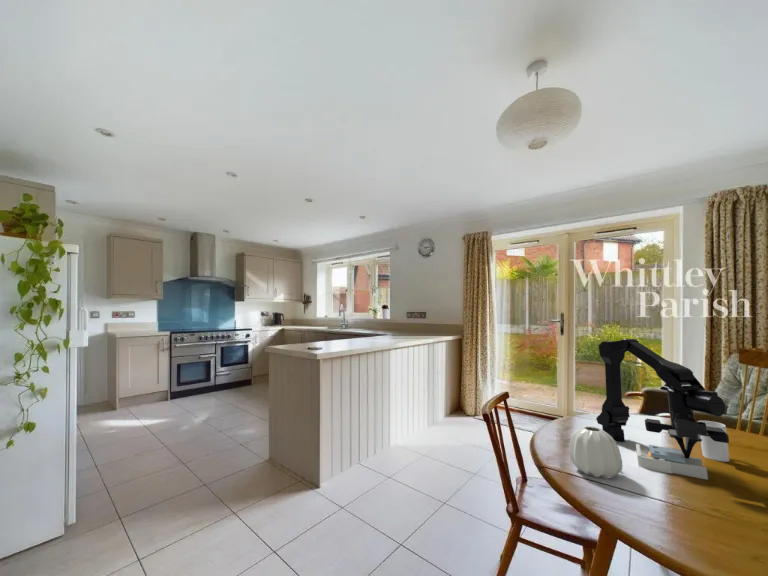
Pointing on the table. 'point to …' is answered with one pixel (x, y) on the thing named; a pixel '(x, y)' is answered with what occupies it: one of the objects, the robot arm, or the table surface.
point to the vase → (595, 452)
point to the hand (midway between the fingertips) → (686, 458)
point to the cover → (666, 453)
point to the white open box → (672, 465)
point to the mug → (714, 445)
